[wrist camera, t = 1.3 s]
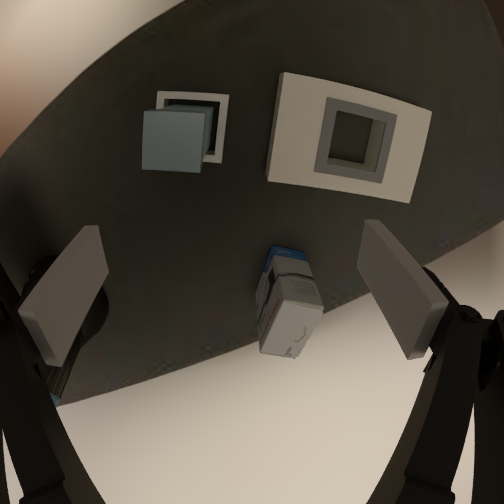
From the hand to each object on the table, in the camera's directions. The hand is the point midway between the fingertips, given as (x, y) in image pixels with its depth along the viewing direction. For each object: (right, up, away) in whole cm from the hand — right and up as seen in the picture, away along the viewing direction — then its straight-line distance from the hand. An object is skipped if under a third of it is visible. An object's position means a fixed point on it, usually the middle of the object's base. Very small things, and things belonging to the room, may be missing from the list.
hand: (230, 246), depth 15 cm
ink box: (+5, -3, +29) cm, 30 cm away
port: (+12, +13, +20) cm, 27 cm away
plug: (-6, +14, +18) cm, 24 cm away
